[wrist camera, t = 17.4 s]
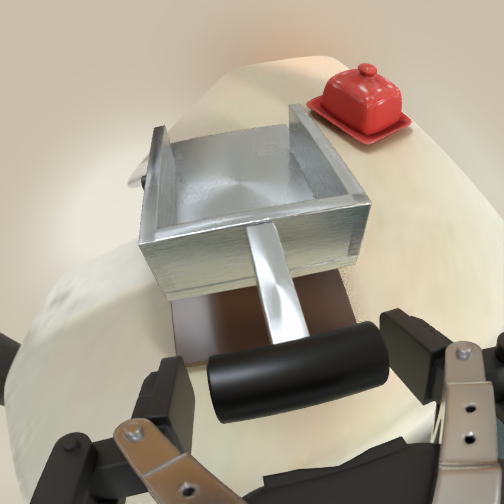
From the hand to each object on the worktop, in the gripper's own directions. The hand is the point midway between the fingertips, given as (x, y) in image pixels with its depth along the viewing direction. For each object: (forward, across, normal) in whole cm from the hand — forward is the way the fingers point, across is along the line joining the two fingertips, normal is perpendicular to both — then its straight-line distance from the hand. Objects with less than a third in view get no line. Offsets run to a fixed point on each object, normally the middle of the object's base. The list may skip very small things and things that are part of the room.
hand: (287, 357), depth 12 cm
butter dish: (+30, -19, -13) cm, 38 cm away
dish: (+8, 0, -4) cm, 9 cm away
